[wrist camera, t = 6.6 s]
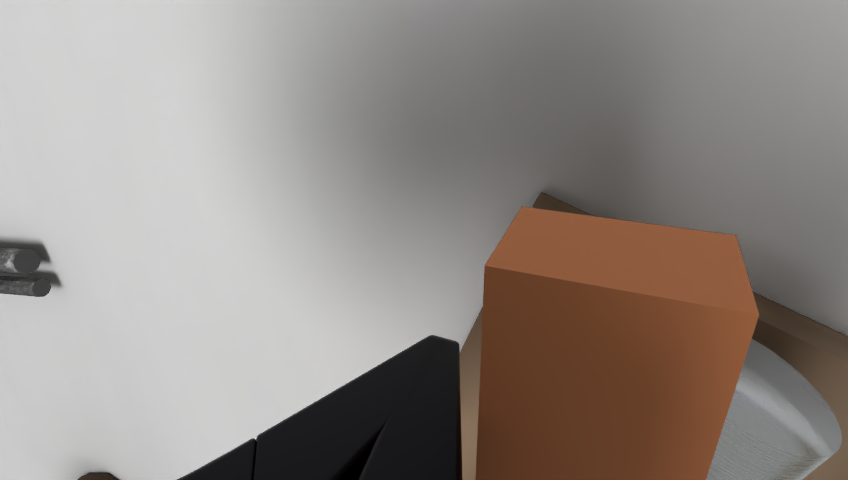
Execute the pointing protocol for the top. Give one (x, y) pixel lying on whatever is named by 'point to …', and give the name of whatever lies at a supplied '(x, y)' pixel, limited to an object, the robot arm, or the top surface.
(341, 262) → the top surface
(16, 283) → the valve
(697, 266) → the lever
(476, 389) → the valve base
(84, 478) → the beer bottle
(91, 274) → the top surface
